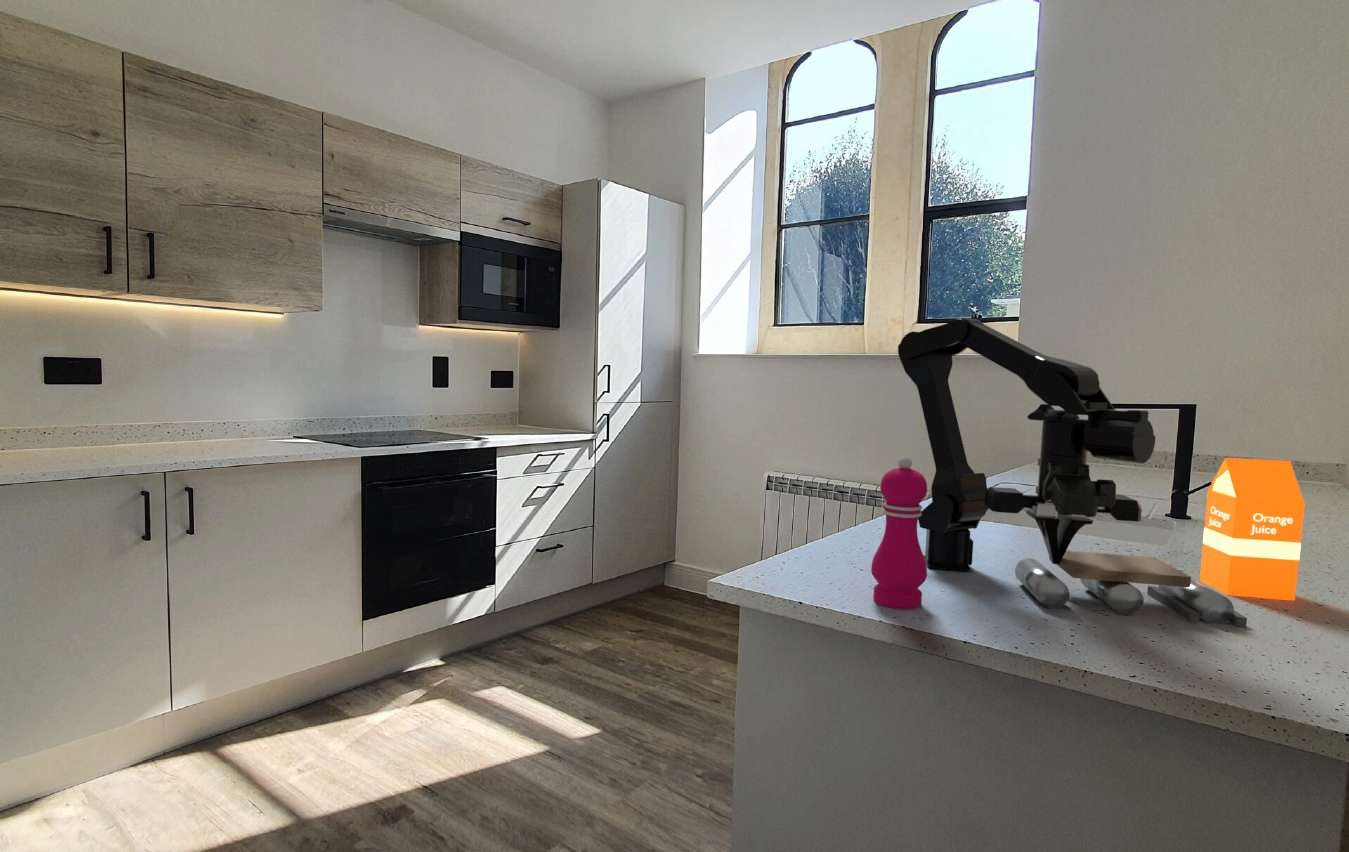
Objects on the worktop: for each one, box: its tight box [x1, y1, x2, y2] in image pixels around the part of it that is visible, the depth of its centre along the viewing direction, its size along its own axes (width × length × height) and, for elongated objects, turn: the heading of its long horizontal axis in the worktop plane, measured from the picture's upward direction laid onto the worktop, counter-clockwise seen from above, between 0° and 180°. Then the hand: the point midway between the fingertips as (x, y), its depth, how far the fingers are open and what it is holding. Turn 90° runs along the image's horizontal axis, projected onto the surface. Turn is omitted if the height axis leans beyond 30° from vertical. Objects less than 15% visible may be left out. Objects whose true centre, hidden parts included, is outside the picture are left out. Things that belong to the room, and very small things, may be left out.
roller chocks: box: [1146, 585, 1248, 628], centre depth 95 cm, size 6×12×1 cm, turn 168°
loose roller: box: [1157, 578, 1235, 625], centre depth 95 cm, size 11×4×4 cm, turn 168°
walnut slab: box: [1048, 550, 1192, 587], centre depth 97 cm, size 14×10×1 cm
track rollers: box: [1014, 558, 1145, 616], centre depth 98 cm, size 13×11×4 cm
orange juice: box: [1199, 457, 1306, 601], centre depth 105 cm, size 8×9×20 cm
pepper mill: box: [870, 456, 928, 610], centre depth 94 cm, size 7×7×20 cm
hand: (1055, 563), depth 99 cm, fingers closed
